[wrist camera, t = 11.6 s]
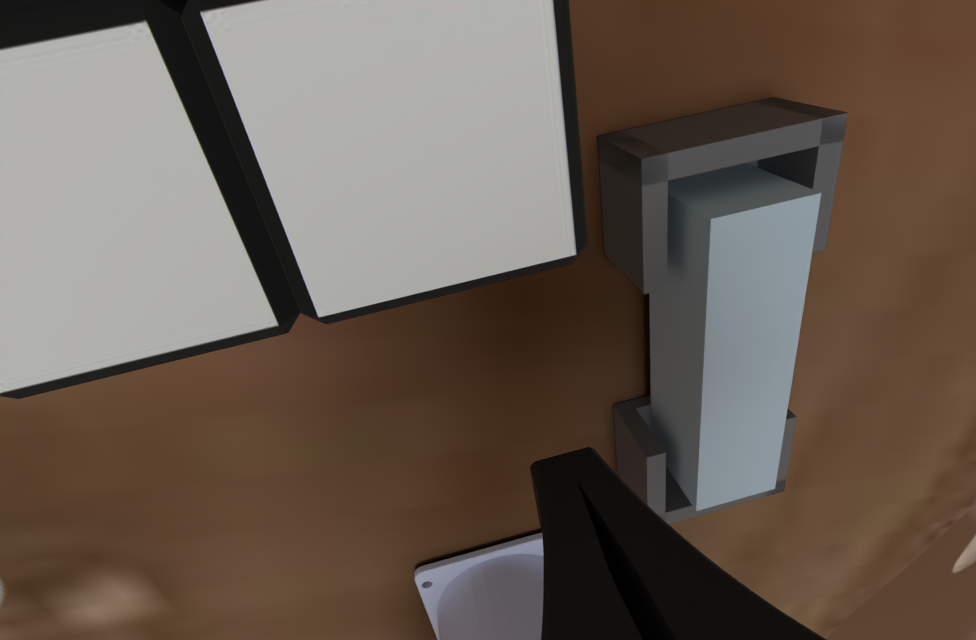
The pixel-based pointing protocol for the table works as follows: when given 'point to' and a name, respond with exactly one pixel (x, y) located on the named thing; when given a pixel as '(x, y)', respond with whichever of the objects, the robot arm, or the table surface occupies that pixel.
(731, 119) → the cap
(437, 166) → the puzzle cube
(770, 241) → the light grey rectangular bar
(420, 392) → the table surface
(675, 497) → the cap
